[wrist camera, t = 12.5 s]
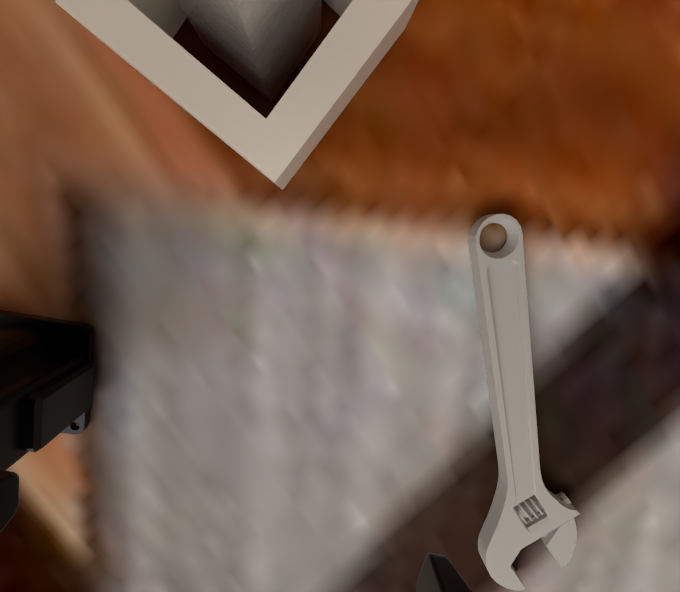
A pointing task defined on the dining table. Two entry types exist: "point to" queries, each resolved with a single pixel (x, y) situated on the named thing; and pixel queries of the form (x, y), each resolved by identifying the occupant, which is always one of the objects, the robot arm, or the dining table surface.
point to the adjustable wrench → (513, 413)
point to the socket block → (228, 107)
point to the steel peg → (257, 36)
